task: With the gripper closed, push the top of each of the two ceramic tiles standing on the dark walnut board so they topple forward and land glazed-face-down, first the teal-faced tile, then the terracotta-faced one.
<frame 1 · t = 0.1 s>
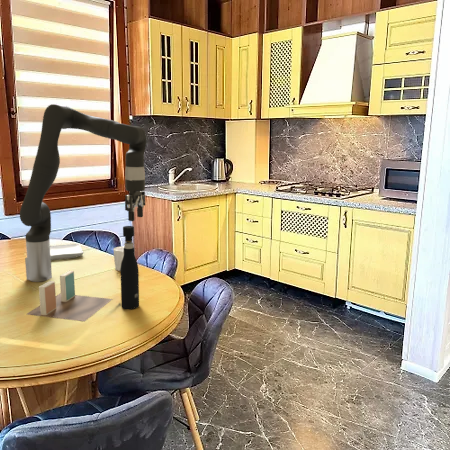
hand: (135, 218, 165), 29 cm above the table, tool pointing down, fingers open, 8 cm apart
board: (71, 309, 148), on the table
tile teal: (68, 298, 155), point 1 cm above the table, touching board
salad plate: (60, 255, 216), on the table
white cup: (122, 269, 195), on the table
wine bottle: (130, 306, 152), on the table
tile terracotta: (48, 311, 143), point 1 cm above the table, touching board
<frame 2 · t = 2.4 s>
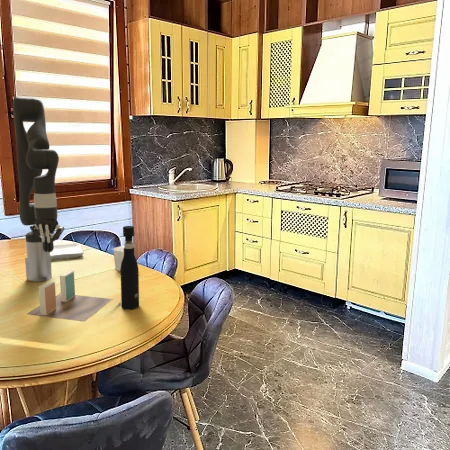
hand: (48, 251, 153), 19 cm above the table, tool pointing down, fingers closed
nothing on the table moved.
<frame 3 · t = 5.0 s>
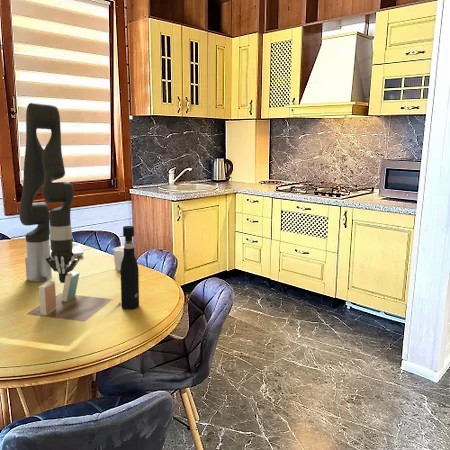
hand: (63, 282, 154), 8 cm above the table, tool pointing down, fingers closed
tile teal: (68, 298, 155), point 1 cm above the table, tilted 14°, touching board
everything else where it was.
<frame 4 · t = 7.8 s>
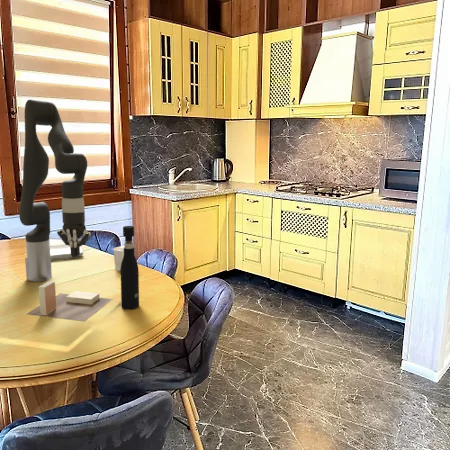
hand: (75, 256, 151), 18 cm above the table, tool pointing down, fingers closed
tile teal: (70, 296, 154), point 2 cm above the table, tilted 90°, touching board
everything else where it was.
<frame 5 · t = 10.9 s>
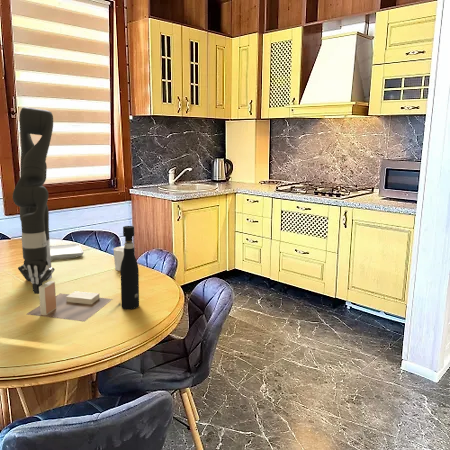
hand: (38, 293, 143), 8 cm above the table, tool pointing down, fingers closed
tile terracotta: (48, 311, 143), point 1 cm above the table, touching board, gripper
everything else where it was.
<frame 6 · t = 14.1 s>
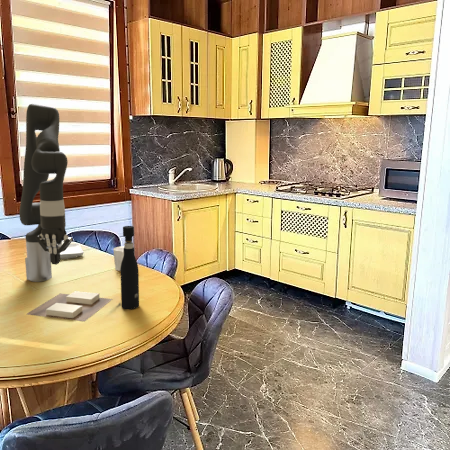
hand: (55, 263, 139), 19 cm above the table, tool pointing down, fingers closed
tile terracotta: (51, 308, 143), point 2 cm above the table, tilted 90°, touching board
everything else where it was.
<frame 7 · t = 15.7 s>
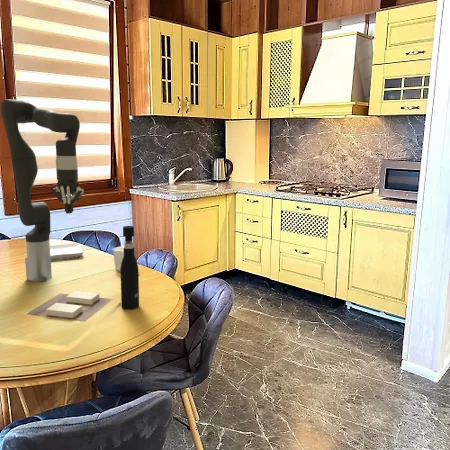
hand: (69, 213, 159), 32 cm above the table, tool pointing down, fingers closed
nothing on the table moved.
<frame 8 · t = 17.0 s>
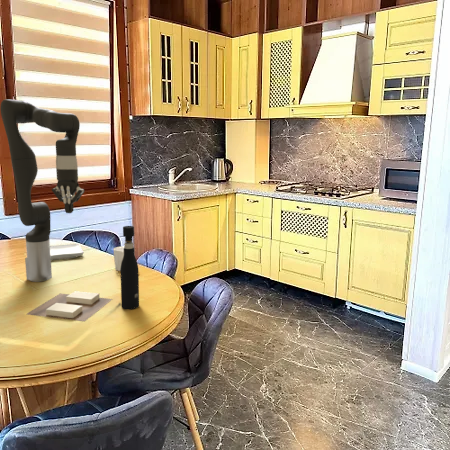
hand: (69, 212, 159), 32 cm above the table, tool pointing down, fingers closed
nothing on the table moved.
at the end: tile teal tilted 90°; tile terracotta tilted 90°; tile teal inside the target area (7.2 cm from its centre), point 2.3 cm above the table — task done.
